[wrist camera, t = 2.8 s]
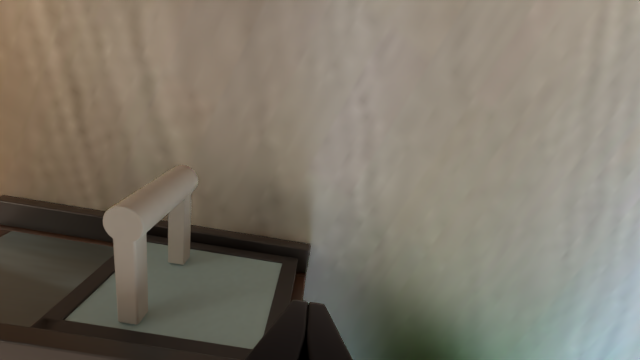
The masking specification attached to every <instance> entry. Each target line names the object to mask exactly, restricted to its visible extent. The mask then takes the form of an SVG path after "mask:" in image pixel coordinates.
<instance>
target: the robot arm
mask: <svg viewBox="0 0 640 360" xmlns="http://www.w3.org/2000/svg"><path fill="white" fill-rule="evenodd" d="M244 360H352V358H351V356H350V354H349V352H348V350H347V348H346V346H345V344H344V342H343V340H342V338H341V336H340V334H339V332H338V330H337V328H336V326H335V324H334V322H333V320H332V318H331V316H330V314H329V312H328V311H327V309H326V307H325V305H324V304H320V303H313V302H310V303H309V305H308V302H306V301H301V300H292V301H291V303H290V304H289V305H288V306H287V308H286V309H285V310H284V311H283V312H282V314H281V315H280V316H279V317H278V319H277V320H276V321H275V322H274V324H273V325H272V326H271V327H270V328H269V330H268V331H267V332H266V333H265V335H264V336H263V337H262V338H261V340H260V341H259V342H258V343H257V344H256V346H255V347H254V348H253V349H252V351H251V352H250V353H249V354H248V356H247V357H246V358H245V359H244Z"/></svg>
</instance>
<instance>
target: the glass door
mask: <svg viewBox="0 0 640 360" xmlns="http://www.w3.org/2000/svg"><path fill="white" fill-rule="evenodd" d="M197 185H198V176H197V174H196V172H195V171H194V170H193V169H192V168H190V167H189V166H186V165H177V166H175V167H173V168H172V169H170V170H169V171H167V172H165V173H164V174H162V175H161V176H159V177H158V178H156V179H154V180H153V181H151V182H150V183H148V184H147V185H145V186H143V187H142V188H140V189H139V190H137V191H136V192H134V193H132V194H131V195H129V196H128V197H126V198H125V199H123V200H122V201H120V202H118V203H117V204H115V205H114V206H112V207H111V208H109V209H108V210H107V211H106V212H105V213H104V216H103V226H104V229H105V231H106V232H107V233H108V235H109V236H111V237H112V238H113V247H114V255H113V256H112V257H110V258H109V259H108V260H107V261H106V262H105V263H104V264H102V265H101V266H100V267H99V268H98V269H97V270H95V271H94V272H93V273H92V274H91V275H90V276H88V277H87V278H86V279H85V280H84V281H83V282H81V283H80V284H79V285H78V286H77V287H76V288H74V289H73V290H72V291H71V292H70V293H69V294H67V295H66V296H65V297H64V298H63V299H62V300H61V301H59V302H58V303H57V304H56V305H55V306H54V307H52V308H51V309H50V310H49V311H48V312H47V313H45V314H44V315H43V316H42V317H41V318H40V319H38V320H37V321H36V322H35V323H34V324H33V325H31V326H30V327H32V328H38V329H45V330H51V331H58V332H64V333H71V334H77V335H84V336H90V337H97V338H103V339H110V340H116V341H123V342H129V343H136V344H142V345H149V346H155V347H162V348H168V349H175V350H181V351H188V352H194V353H201V354H207V355H214V356H220V357H226V358H233V359H239V360H244V359H245V358H246V357H247V356H248V354H249V353H250V352H251V351H252V349H253V348H254V347H255V346H256V344H257V343H258V342H259V341H260V340H261V338H262V337H263V336H264V335H265V333H266V332H267V331H268V330H269V328H270V327H271V326H272V325H273V324H274V322H275V321H276V320H277V319H278V317H279V316H280V315H281V314H282V312H283V311H284V310H285V309H286V308H287V306H288V305H289V304H290V302H291V296H292V291H293V285H294V280H295V274H296V269H297V263H298V259H297V258H291V257H284V256H278V255H272V254H265V253H259V252H253V251H246V250H240V249H234V248H227V247H221V246H215V245H209V244H202V243H196V242H190V235H191V200H192V192H193V191H194V190H195V189H196V187H197ZM167 214H168V238H165V237H158V236H152V235H146V233H147V232H148V231H149V230H150V229H151V228H152V227H153V226H155V225H156V224H157V223H158V222H159V221H160V220H161V219H162V218H163V217H165V216H166V215H167Z"/></svg>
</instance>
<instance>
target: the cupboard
mask: <svg viewBox="0 0 640 360" xmlns="http://www.w3.org/2000/svg"><path fill="white" fill-rule="evenodd" d="M104 213H105V211H99V210H93V209H86V208H80V207H74V206H68V205H61V204H55V203H49V202H42V201H36V200H30V199H24V198H17V197H11V196H5V195H2V196H0V360H239V359H233V358H226V357H220V356H214V355H207V354H201V353H194V352H188V351H181V350H175V349H168V348H162V347H155V346H149V345H142V344H136V343H129V342H123V341H116V340H110V339H103V338H97V337H90V336H84V335H77V334H71V333H64V332H58V331H51V330H45V329H38V328H32V327H30V326H31V325H33V324H34V323H35V322H36V321H37V320H38V319H40V318H41V317H42V316H43V315H44V314H45V313H47V312H48V311H49V310H50V309H51V308H52V307H54V306H55V305H56V304H57V303H58V302H59V301H61V300H62V299H63V298H64V297H65V296H66V295H67V294H69V293H70V292H71V291H72V290H73V289H74V288H76V287H77V286H78V285H79V284H80V283H81V282H83V281H84V280H85V279H86V278H87V277H88V276H90V275H91V274H92V273H93V272H94V271H95V270H97V269H98V268H99V267H100V266H101V265H102V264H104V263H105V262H106V261H107V260H108V259H109V258H110V257H112V256H113V255H114V247H113V238H112V237H111V236H109V235H108V233H107V232H106V231H105V229H104V226H103V216H104ZM146 235H152V236H158V237H165V238H168V221H161V220H160V221H159V222H158V223H157V224H156V225H155V226H153V227H152V228H151V229H150V230H149V231H148V232H147V233H146ZM190 242H196V243H202V244H209V245H215V246H221V247H227V248H234V249H240V250H246V251H253V252H259V253H265V254H272V255H278V256H284V257H291V258H297V259H298V263H297V269H296V274H295V280H294V285H293V291H292V296H291V301H292V300H301V301H303V295H304V287H305V280H306V272H307V267H308V261H309V255H310V249H311V245H310V244H306V243H299V242H293V241H287V240H281V239H274V238H268V237H262V236H255V235H249V234H243V233H237V232H230V231H224V230H218V229H212V228H205V227H199V226H193V225H191V235H190ZM290 303H291V302H290Z"/></svg>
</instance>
